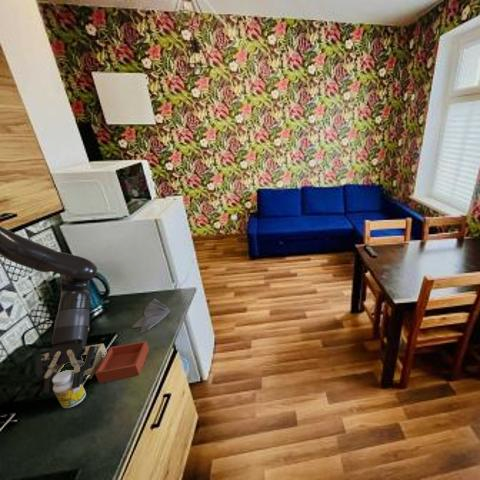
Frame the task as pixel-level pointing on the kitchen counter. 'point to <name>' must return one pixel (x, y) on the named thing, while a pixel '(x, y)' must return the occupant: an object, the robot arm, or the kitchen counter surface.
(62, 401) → the supplement bottle
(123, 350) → the terracotta bin
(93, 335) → the kitchen counter surface
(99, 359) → the cream bin
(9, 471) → the kitchen counter surface
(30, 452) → the kitchen counter surface
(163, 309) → the cloth
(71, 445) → the kitchen counter surface
